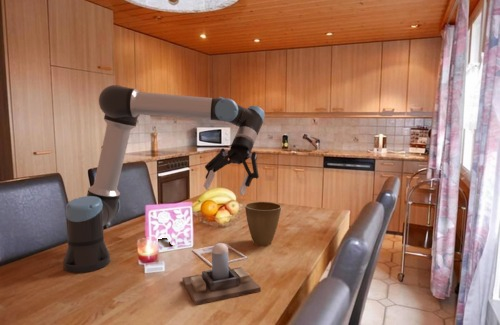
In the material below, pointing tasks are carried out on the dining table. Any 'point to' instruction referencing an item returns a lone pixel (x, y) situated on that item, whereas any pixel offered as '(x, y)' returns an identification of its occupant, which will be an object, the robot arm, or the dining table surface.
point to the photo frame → (209, 250)
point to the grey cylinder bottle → (220, 262)
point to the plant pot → (262, 221)
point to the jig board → (219, 286)
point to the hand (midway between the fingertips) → (223, 190)
